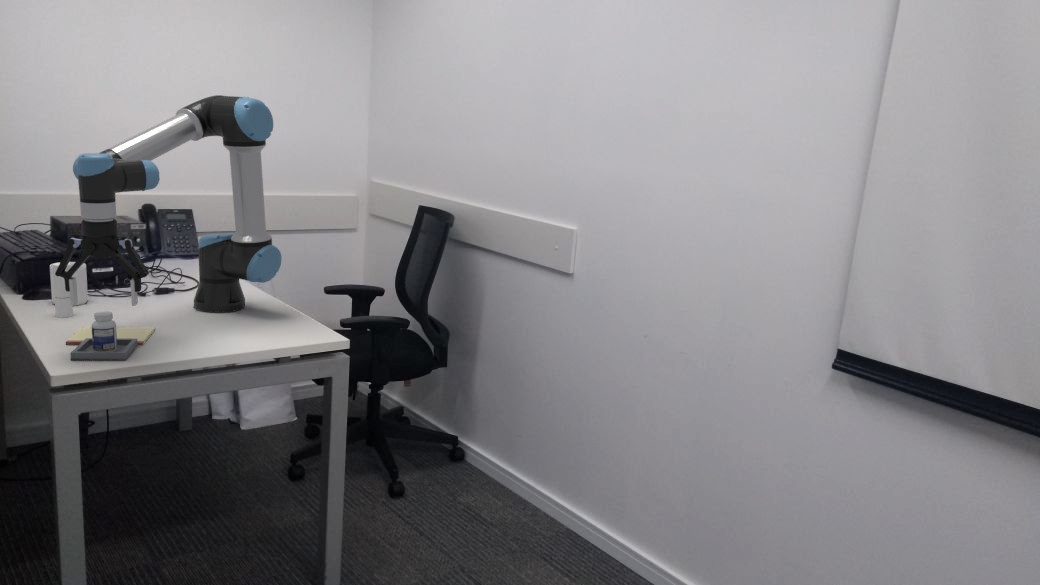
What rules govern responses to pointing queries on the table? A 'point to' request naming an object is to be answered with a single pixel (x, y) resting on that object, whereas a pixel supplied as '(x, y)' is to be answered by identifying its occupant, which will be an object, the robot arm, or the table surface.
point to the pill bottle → (104, 332)
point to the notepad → (122, 332)
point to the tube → (61, 295)
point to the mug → (80, 280)
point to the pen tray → (121, 354)
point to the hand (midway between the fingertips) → (104, 304)
